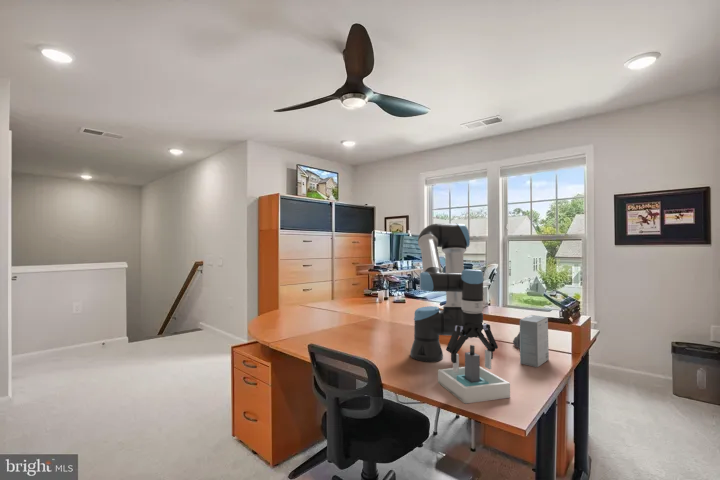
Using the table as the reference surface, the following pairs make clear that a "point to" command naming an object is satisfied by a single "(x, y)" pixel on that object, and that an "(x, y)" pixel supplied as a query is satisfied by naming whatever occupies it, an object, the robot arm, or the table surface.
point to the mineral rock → (517, 341)
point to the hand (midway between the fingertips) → (472, 369)
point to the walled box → (474, 385)
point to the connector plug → (472, 365)
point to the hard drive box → (534, 340)
